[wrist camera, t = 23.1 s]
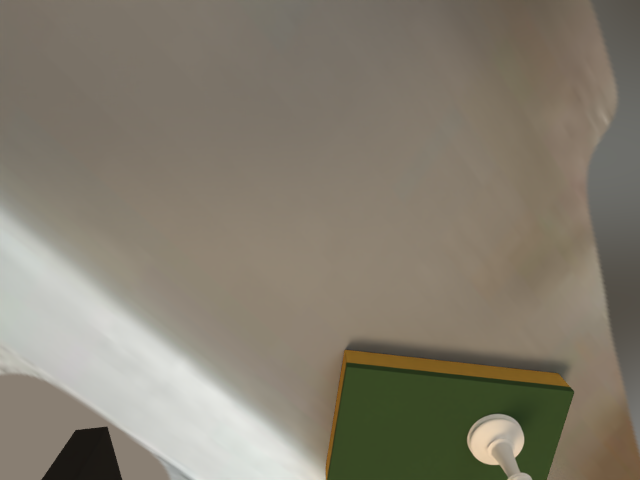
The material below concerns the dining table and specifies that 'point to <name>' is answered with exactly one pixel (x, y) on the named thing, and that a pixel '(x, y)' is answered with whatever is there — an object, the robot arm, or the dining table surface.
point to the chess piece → (498, 443)
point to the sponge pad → (438, 418)
